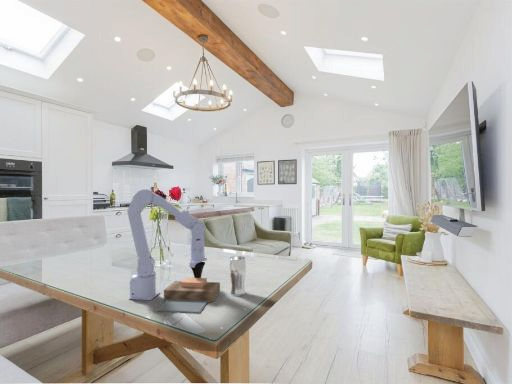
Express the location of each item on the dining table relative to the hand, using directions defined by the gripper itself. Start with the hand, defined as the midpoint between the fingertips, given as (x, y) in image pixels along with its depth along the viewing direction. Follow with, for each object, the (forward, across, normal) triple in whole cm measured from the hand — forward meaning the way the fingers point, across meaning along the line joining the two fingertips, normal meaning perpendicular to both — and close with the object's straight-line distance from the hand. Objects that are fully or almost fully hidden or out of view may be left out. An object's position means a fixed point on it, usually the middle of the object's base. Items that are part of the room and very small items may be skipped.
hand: (197, 279), depth 121 cm
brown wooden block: (+5, -6, 0) cm, 8 cm away
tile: (+1, -5, 0) cm, 5 cm away
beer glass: (+5, -2, -18) cm, 19 cm away
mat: (+5, -17, 0) cm, 17 cm away
